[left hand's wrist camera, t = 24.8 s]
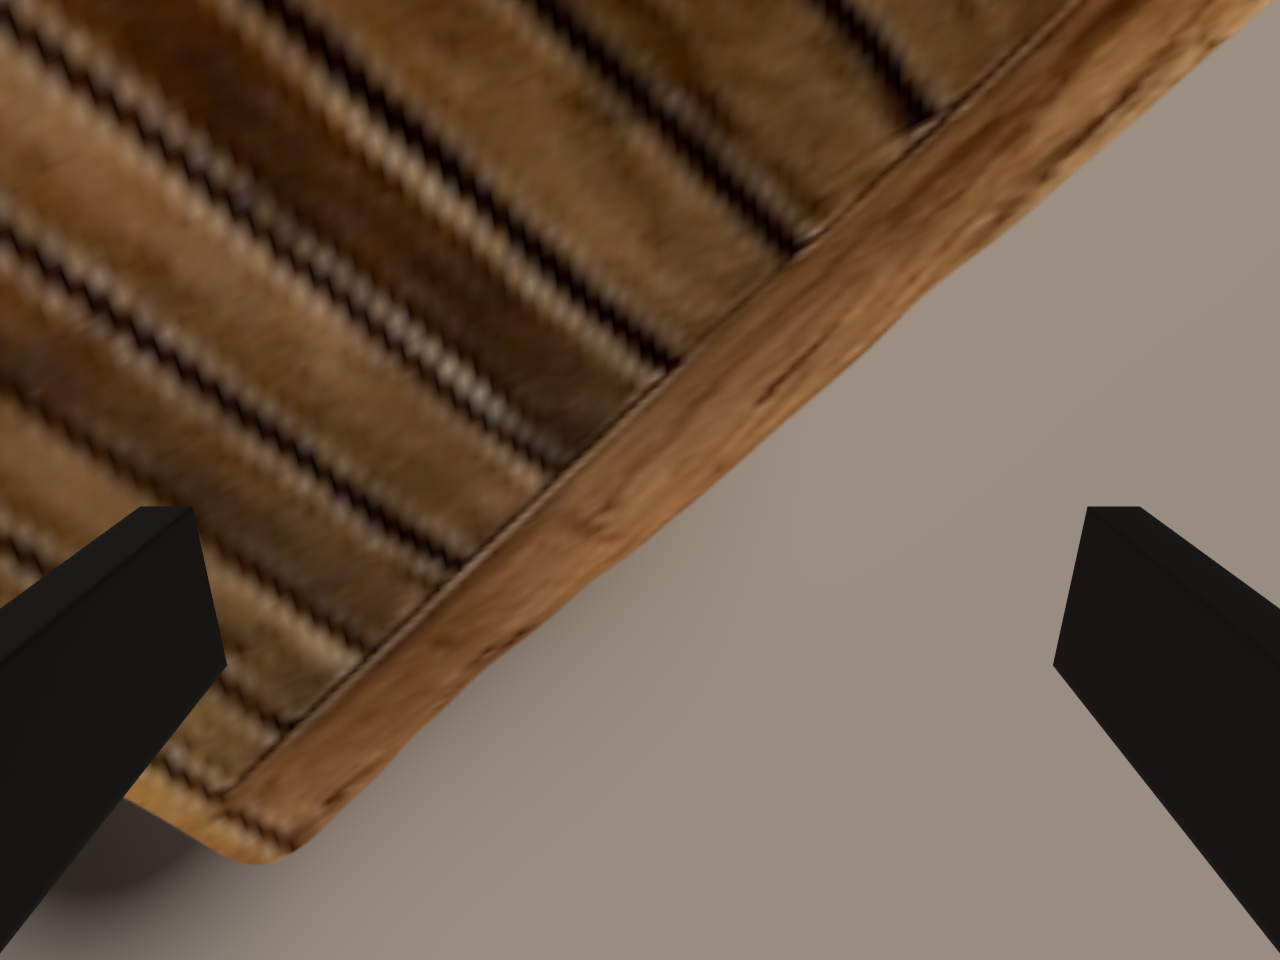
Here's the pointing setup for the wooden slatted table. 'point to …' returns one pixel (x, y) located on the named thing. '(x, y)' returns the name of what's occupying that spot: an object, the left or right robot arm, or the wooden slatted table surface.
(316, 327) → the wooden slatted table surface
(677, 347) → the wooden slatted table surface
